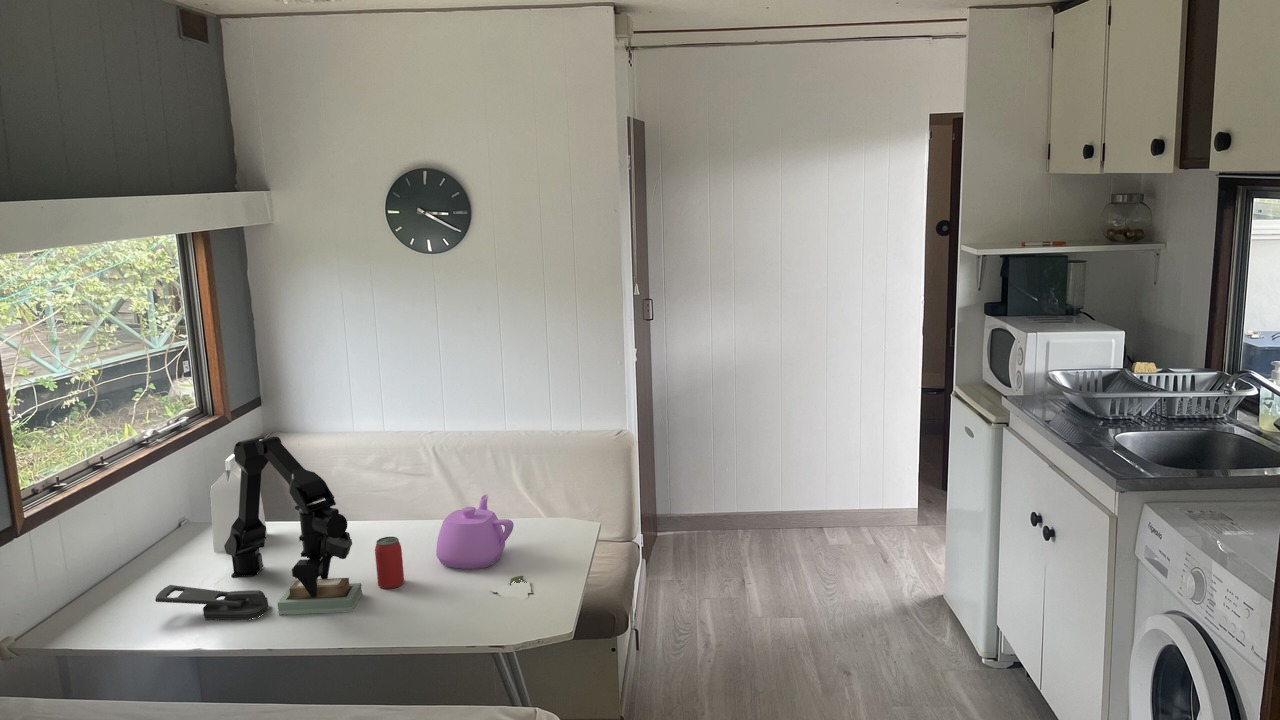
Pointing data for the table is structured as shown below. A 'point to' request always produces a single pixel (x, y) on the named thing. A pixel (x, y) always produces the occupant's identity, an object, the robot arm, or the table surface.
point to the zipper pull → (219, 602)
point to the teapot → (472, 537)
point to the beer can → (389, 562)
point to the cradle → (320, 603)
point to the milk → (227, 503)
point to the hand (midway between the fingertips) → (319, 588)
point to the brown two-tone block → (322, 589)
